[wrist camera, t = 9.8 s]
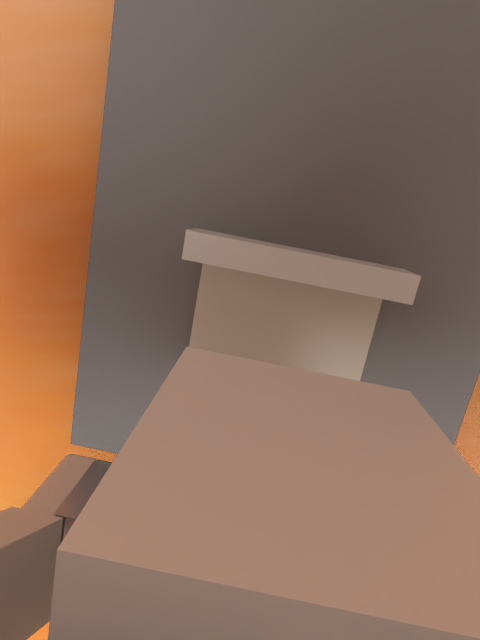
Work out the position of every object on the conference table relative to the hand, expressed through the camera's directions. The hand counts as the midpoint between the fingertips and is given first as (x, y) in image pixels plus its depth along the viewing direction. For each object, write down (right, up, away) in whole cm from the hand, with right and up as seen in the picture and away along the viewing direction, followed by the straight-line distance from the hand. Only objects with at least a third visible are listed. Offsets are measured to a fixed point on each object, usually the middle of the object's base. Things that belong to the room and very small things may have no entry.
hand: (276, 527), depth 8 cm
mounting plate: (+2, +6, +9) cm, 11 cm away
